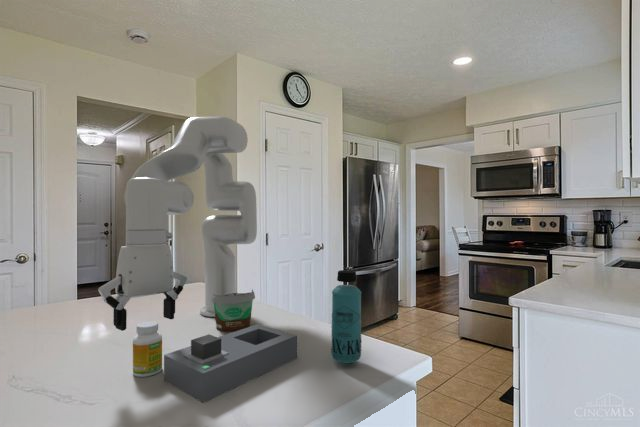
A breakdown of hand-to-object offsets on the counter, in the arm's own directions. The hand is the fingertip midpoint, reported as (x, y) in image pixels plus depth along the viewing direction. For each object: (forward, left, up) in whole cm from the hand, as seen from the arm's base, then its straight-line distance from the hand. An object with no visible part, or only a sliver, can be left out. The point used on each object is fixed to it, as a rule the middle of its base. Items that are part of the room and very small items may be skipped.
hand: (146, 323), depth 72 cm
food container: (-28, -7, -10) cm, 31 cm away
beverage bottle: (-28, +30, -10) cm, 42 cm away
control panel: (-12, +13, -10) cm, 20 cm away
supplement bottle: (0, 0, -10) cm, 10 cm away
